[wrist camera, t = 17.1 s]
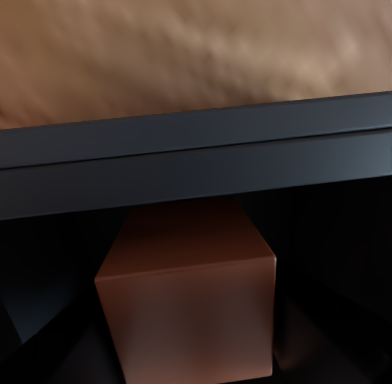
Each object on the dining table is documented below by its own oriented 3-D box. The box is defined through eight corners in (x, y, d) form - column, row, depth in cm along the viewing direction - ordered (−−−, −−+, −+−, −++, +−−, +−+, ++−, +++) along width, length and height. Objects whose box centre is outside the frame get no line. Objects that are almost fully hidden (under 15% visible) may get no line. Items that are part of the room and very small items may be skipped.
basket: (411, 422, 7) (552, 75, 4) (-4, 489, 6) (-281, 157, 3) (290, 263, 14) (300, 104, 11) (95, 288, 14) (45, 129, 11)
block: (236, 277, 10) (273, 377, 6) (148, 288, 10) (129, 399, 6) (233, 194, 8) (278, 256, 5) (131, 206, 8) (91, 279, 4)
